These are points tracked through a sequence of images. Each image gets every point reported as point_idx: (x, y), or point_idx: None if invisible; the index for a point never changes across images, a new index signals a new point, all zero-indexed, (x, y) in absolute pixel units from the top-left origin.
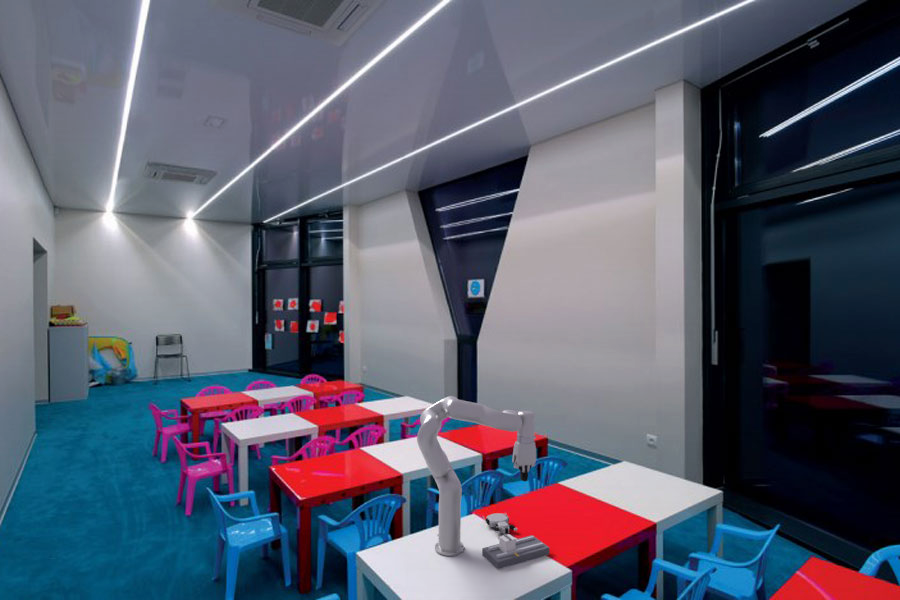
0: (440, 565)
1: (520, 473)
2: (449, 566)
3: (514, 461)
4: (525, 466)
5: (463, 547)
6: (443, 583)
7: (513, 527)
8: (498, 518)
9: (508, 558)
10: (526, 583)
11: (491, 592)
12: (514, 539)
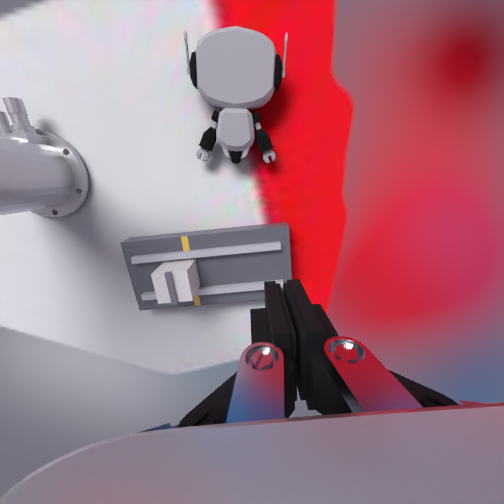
0: (18, 243)
1: (251, 339)
2: (40, 254)
3: (86, 473)
4: (364, 403)
5: (81, 197)
6: (21, 306)
7: (264, 151)
8: (235, 79)
9: (170, 305)
10: (186, 356)
11: (111, 357)
12: (189, 300)
